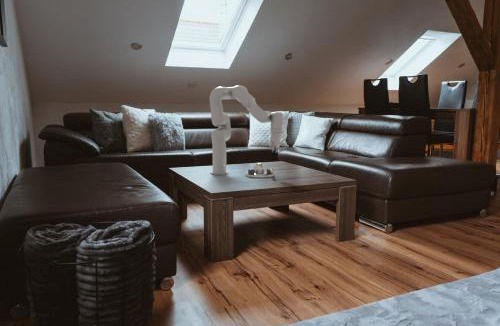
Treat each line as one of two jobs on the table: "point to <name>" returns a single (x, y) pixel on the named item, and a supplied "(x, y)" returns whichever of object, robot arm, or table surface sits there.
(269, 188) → the table surface
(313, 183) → the table surface
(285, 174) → the table surface
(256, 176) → the tribrach
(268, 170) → the footscrew knob
